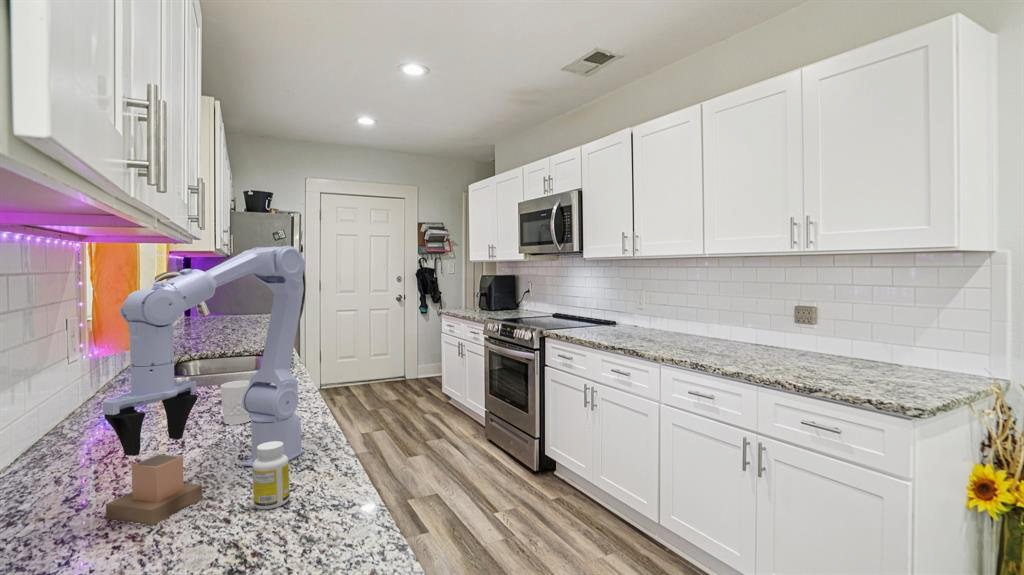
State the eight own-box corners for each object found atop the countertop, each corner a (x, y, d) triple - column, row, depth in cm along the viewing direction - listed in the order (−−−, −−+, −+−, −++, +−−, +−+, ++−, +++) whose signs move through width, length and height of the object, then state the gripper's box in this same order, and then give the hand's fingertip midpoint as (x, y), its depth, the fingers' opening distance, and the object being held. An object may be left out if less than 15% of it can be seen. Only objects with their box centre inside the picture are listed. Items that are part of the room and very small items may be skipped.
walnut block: (159, 496, 85) (159, 480, 85) (202, 502, 83) (201, 485, 83) (106, 522, 77) (105, 503, 77) (152, 529, 75) (151, 510, 75)
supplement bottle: (280, 492, 86) (279, 437, 86) (295, 501, 82) (294, 444, 82) (247, 503, 82) (246, 445, 81) (262, 513, 78) (261, 453, 78)
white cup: (242, 427, 123) (241, 387, 122) (214, 425, 124) (213, 386, 123) (262, 417, 130) (262, 380, 130) (236, 416, 132) (235, 379, 131)
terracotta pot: (160, 486, 83) (159, 453, 83) (183, 488, 82) (182, 456, 82) (132, 499, 78) (131, 464, 78) (157, 502, 77) (156, 467, 77)
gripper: (128, 373, 71) (130, 465, 72) (210, 356, 85) (212, 433, 86) (90, 371, 73) (93, 461, 73) (177, 355, 87) (179, 430, 87)
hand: (155, 446), depth 80 cm, fingers open, 7 cm apart
